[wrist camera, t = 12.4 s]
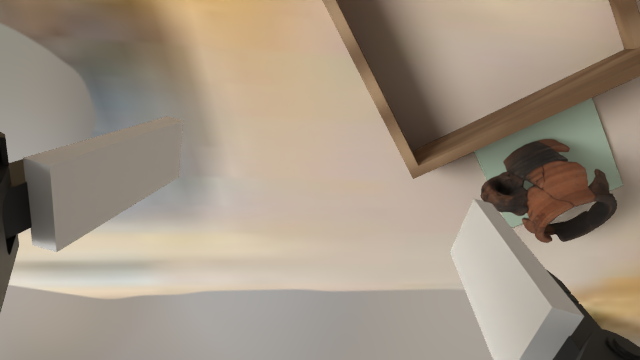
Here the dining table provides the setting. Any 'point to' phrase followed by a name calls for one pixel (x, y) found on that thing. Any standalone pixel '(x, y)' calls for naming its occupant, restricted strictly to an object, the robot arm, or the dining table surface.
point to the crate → (523, 113)
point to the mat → (568, 128)
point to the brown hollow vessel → (549, 191)
